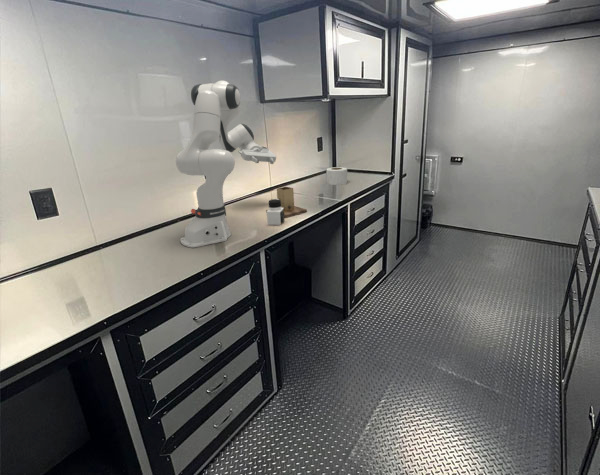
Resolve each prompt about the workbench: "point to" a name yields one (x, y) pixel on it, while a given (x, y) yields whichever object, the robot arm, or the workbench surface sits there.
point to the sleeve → (286, 198)
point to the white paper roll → (336, 175)
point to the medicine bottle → (275, 213)
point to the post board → (294, 212)
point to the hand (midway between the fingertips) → (265, 162)
